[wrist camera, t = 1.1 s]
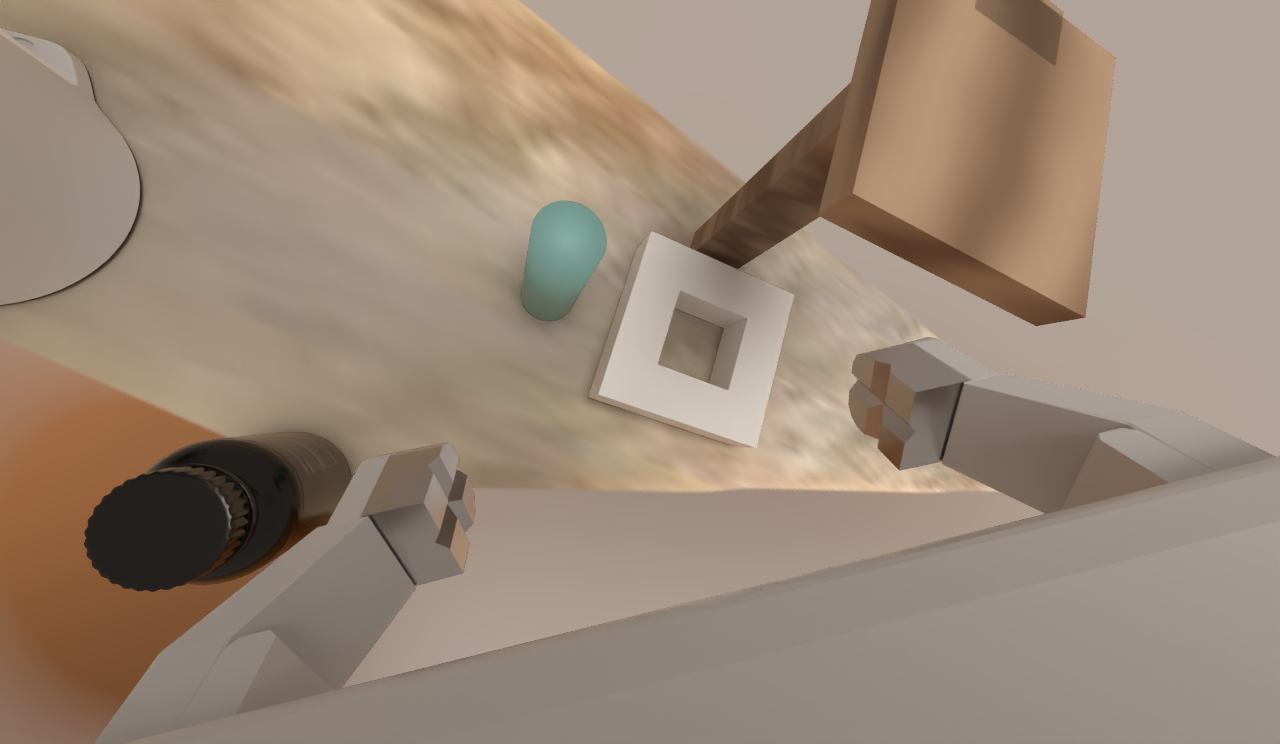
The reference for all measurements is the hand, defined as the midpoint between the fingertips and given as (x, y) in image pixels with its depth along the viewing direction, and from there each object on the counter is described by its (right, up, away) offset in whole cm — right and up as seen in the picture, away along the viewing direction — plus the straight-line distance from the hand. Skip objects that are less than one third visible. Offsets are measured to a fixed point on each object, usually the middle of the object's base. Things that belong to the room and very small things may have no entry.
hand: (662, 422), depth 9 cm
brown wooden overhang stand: (+5, +7, +30) cm, 31 cm away
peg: (-8, +7, +26) cm, 28 cm away
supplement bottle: (-23, -6, +20) cm, 31 cm away
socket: (+3, +3, +29) cm, 29 cm away
